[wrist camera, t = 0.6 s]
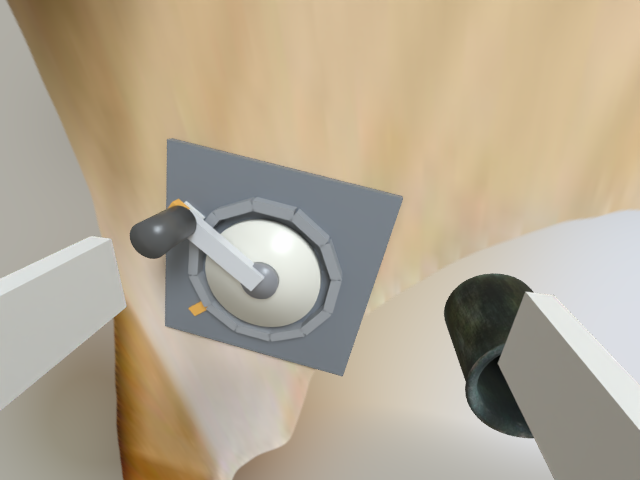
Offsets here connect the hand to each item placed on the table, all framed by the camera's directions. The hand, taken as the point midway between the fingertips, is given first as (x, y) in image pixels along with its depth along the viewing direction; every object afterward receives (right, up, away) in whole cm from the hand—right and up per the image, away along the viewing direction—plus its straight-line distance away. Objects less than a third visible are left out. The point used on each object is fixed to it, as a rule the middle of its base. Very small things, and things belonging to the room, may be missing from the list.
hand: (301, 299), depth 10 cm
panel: (-6, -2, +29) cm, 30 cm away
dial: (-8, 0, +28) cm, 29 cm away
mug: (+21, -8, +28) cm, 36 cm away
